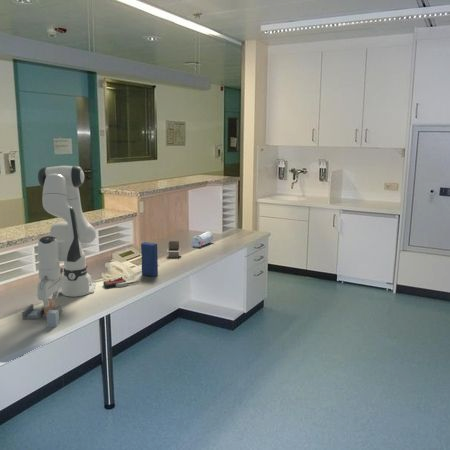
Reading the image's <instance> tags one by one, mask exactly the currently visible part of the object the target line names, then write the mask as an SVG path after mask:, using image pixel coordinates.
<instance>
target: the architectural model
mask: <svg viewBox="0 0 450 450" xmlns="http://www.w3.org/2000/svg"><path fill="white" fill-rule="evenodd" d="M181 250H182V248H180V240H169V241H168V247H167V250H166V252H167V253H168V258H170V259H176V258H177V259H178V258H179V253H180V252H181Z"/></svg>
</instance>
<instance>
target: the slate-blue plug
mask: <svg viewBox="0 0 450 450" xmlns="http://www.w3.org/2000/svg"><path fill="white" fill-rule="evenodd" d="M46 315H47V320H46V327H47V328H57V327H58V326H59V324H60V315H59V310H49V311H48V312H47V313H46Z"/></svg>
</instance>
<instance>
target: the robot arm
mask: <svg viewBox="0 0 450 450" xmlns="http://www.w3.org/2000/svg"><path fill="white" fill-rule="evenodd" d="M37 181H38V184H39V186H41V187H42V195H41V196H42V197H41V198H42V201H41V202H42V203H41V204H42V207H43V209H44V211H45V212H47V213H48V214H50V215H52V216H54V217H56V218H58V219H59V218H60V219H62V220H64V221H59V222H54V223H53V224H52V225H51V227H50V230H49V232H50V235H47V236H43V237H41V238H39V240H38V242H37V243H38V245H37V260H38V278H39V279H40V281H39V282H38V285H37V299H38V300H39V301H42V302H44V303H43V306H44V307H49V306H50V303H49V302H48V300H49V299H50V298H51V296H52V298H51V299H53V300H55V301H56V300H57V299H58V294H62V295H63V296H66V297H82V296H85V295H89V294H93V293H95V289H96V285H97V284H96V282H92V275H90V274H89V273H88V264H86V263H87V262H86V253H85V252H84V250H83V247H82V245H86V244H91V243H93V242H94V240H95V239H96V236H97V231H96V228H95V227H94V226H93V225H92V224H91V223H90V222H89V221H88V220H87V218H86V217H85V214H84V212H83V209H82V203H81V195H80V190H79V187H81V186H82V185H83V184H84V182H85V173H84V170H83V168H82V167H81V166H77V165H58V166H50V167H48V166H44V167H42V168H40V169H39V170H38V173H37ZM60 262H63V266H64V267H60ZM59 289H60V290H59Z"/></svg>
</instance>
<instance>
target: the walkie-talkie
mask: <svg viewBox="0 0 450 450" xmlns="http://www.w3.org/2000/svg"><path fill="white" fill-rule="evenodd" d="M139 282H140V281H139V280H134V281H130V282H127V280H126V279H125V278H123V277H121V276H117V277H113V279H108V280H103V282H102V283H103V286H104V288H106V289H111V288H123V287H127V286H128V285H133V284H137V283H139Z"/></svg>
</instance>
